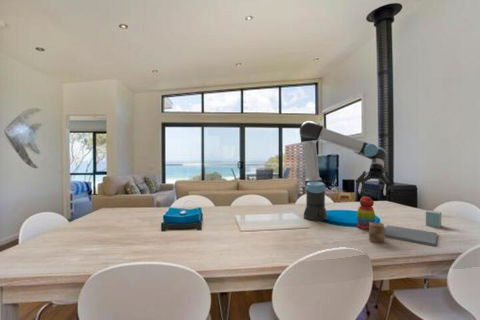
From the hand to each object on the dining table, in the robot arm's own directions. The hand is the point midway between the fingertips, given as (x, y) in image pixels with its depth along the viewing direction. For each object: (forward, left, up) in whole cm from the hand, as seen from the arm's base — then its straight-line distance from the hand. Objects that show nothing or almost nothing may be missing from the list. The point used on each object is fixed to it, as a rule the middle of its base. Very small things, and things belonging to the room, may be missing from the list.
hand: (371, 193), depth 146 cm
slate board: (+20, -11, -18) cm, 29 cm away
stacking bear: (0, -10, -19) cm, 21 cm away
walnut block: (+9, -30, -19) cm, 37 cm away
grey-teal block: (+29, +20, -19) cm, 39 cm away
